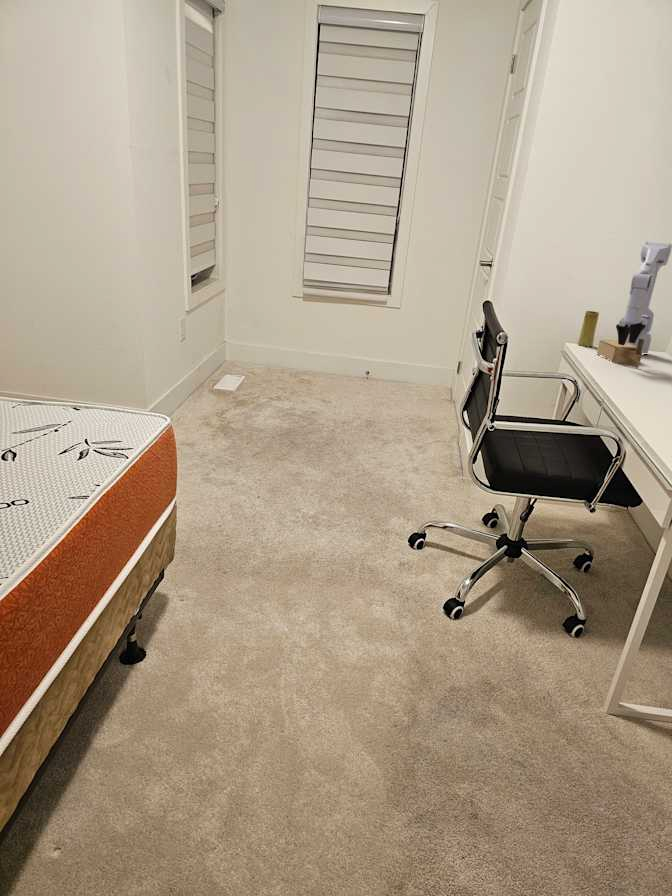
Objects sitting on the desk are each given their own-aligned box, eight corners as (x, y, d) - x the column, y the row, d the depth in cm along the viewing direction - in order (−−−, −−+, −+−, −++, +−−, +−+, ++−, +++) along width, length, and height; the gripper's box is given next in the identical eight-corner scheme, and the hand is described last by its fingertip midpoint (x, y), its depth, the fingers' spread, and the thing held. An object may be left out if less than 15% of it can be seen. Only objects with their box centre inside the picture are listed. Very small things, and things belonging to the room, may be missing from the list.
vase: (595, 347, 260) (603, 313, 254) (583, 347, 258) (591, 313, 253) (586, 343, 265) (593, 310, 260) (574, 343, 264) (581, 310, 258)
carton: (618, 355, 248) (622, 340, 246) (635, 362, 238) (638, 347, 236) (596, 354, 247) (599, 340, 244) (611, 361, 237) (615, 346, 234)
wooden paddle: (638, 367, 229) (645, 339, 225) (635, 368, 228) (643, 340, 224) (613, 361, 236) (619, 334, 232) (610, 362, 235) (617, 334, 231)
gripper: (635, 304, 231) (626, 339, 236) (614, 306, 223) (606, 343, 228) (653, 307, 226) (644, 343, 231) (633, 310, 218) (624, 347, 223)
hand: (626, 343), depth 229 cm, fingers open, 7 cm apart
